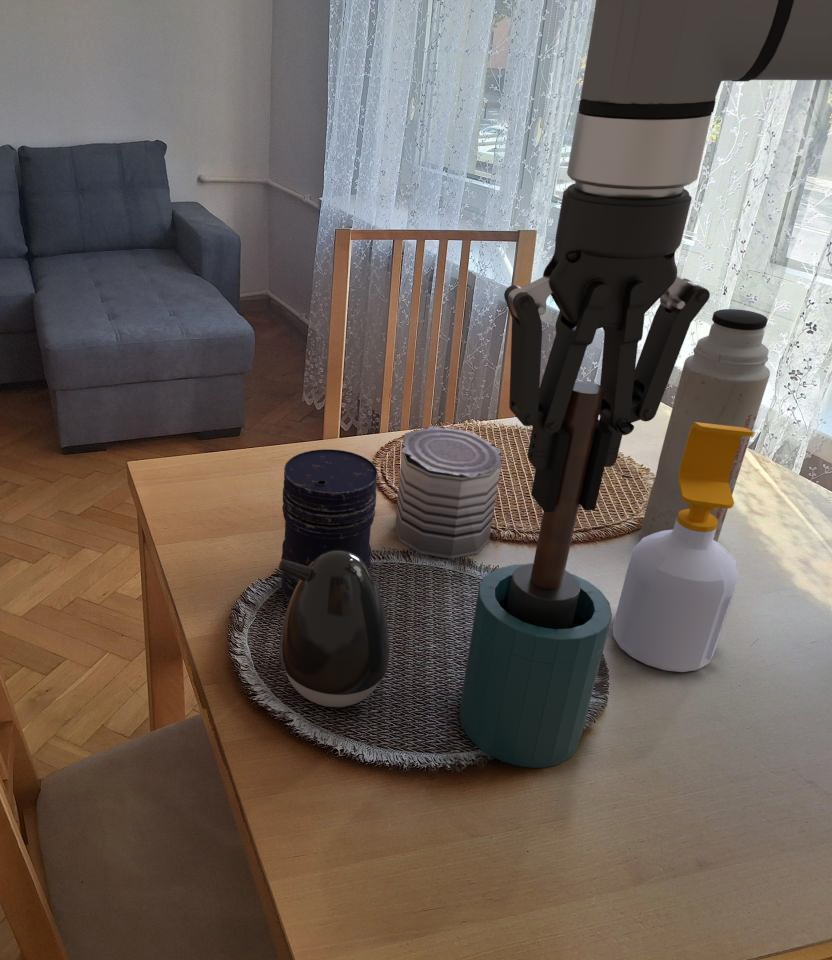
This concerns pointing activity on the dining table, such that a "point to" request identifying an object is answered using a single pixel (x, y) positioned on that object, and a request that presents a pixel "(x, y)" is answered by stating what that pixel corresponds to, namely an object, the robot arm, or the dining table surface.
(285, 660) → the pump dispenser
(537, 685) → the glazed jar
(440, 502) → the can
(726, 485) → the soap bottle
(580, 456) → the round mallet
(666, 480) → the thermos bottle
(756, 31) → the robot arm
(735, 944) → the dining table surface
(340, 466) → the storage jar
